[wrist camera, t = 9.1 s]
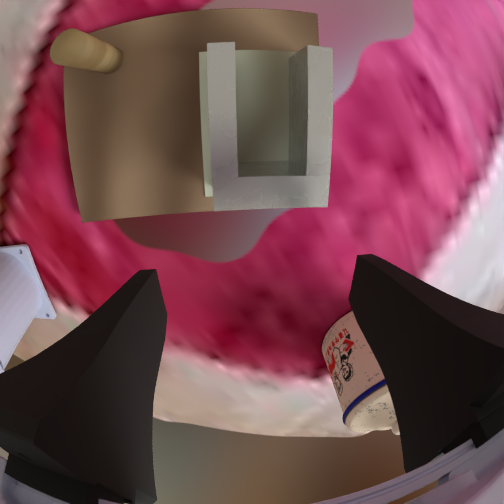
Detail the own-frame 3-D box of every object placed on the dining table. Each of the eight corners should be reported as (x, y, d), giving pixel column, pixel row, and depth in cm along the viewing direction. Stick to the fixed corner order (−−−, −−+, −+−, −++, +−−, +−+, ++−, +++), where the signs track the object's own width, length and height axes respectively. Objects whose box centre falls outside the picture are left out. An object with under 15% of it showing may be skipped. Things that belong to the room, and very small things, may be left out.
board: (87, 217, 18) (43, 262, 12) (71, 44, 11) (15, 30, 6) (310, 201, 19) (346, 245, 13) (312, 18, 13) (354, -17, 7)
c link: (306, 185, 17) (327, 206, 14) (216, 188, 17) (213, 211, 13) (308, 60, 13) (332, 48, 10) (211, 58, 13) (206, 43, 9)
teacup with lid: (320, 311, 24) (365, 426, 14) (406, 291, 24) (470, 380, 14) (315, 384, 30) (340, 470, 20) (384, 366, 30) (419, 441, 20)
